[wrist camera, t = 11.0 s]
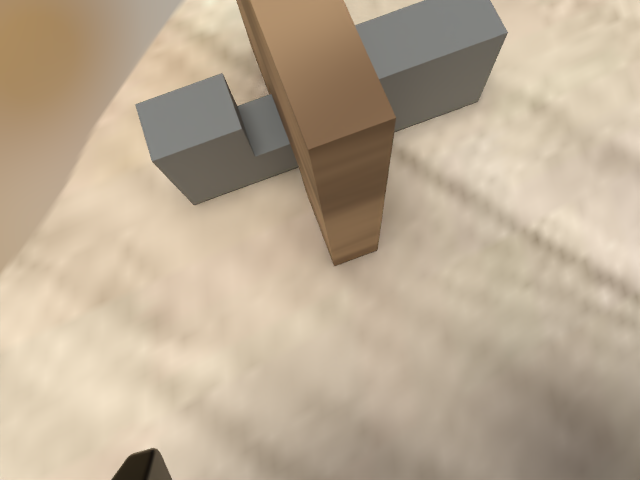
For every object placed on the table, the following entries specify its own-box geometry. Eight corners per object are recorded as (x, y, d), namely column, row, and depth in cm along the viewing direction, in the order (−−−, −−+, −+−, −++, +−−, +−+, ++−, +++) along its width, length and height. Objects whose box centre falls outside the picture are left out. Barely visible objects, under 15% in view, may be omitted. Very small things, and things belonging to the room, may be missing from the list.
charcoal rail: (456, 57, 25) (479, -20, 20) (477, 101, 24) (507, 32, 19) (179, 158, 24) (135, 104, 20) (193, 205, 24) (151, 161, 19)
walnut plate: (377, 250, 23) (396, 117, 11) (334, 266, 23) (308, 149, 11) (288, 31, 26) (231, -250, 14) (250, 45, 26) (162, -226, 14)
